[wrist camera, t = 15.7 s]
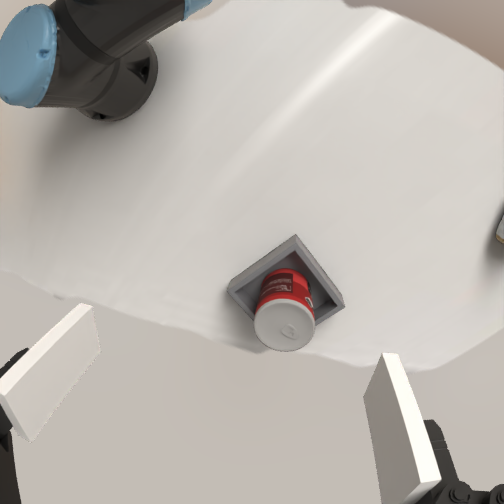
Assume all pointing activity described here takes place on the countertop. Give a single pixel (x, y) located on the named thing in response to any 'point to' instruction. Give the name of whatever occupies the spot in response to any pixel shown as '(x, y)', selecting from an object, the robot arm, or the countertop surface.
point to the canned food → (285, 311)
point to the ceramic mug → (500, 231)
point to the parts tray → (291, 257)
